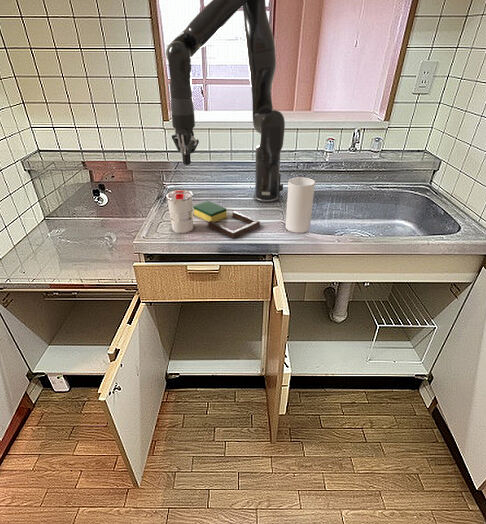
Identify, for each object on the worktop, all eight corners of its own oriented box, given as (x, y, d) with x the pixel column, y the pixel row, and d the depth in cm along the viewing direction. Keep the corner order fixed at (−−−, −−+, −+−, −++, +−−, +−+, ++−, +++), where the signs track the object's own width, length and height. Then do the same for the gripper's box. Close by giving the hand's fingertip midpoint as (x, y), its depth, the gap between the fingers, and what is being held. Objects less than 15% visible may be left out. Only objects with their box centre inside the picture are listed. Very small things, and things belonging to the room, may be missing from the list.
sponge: (208, 209, 133) (208, 200, 131) (226, 217, 127) (226, 208, 125) (194, 214, 129) (193, 206, 127) (211, 223, 123) (211, 214, 121)
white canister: (190, 236, 115) (186, 201, 108) (165, 233, 116) (161, 199, 110) (199, 223, 123) (196, 190, 117) (176, 221, 124) (172, 188, 118)
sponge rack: (235, 216, 127) (234, 211, 126) (259, 226, 120) (259, 221, 119) (208, 227, 120) (208, 221, 119) (233, 239, 113) (233, 233, 112)
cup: (309, 233, 115) (315, 186, 107) (284, 231, 117) (287, 185, 108) (310, 222, 122) (315, 177, 114) (286, 221, 124) (289, 176, 115)
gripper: (204, 113, 115) (206, 166, 124) (180, 108, 123) (184, 158, 132) (185, 116, 111) (189, 170, 120) (162, 111, 119) (167, 162, 128)
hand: (186, 164), depth 126 cm, fingers closed
